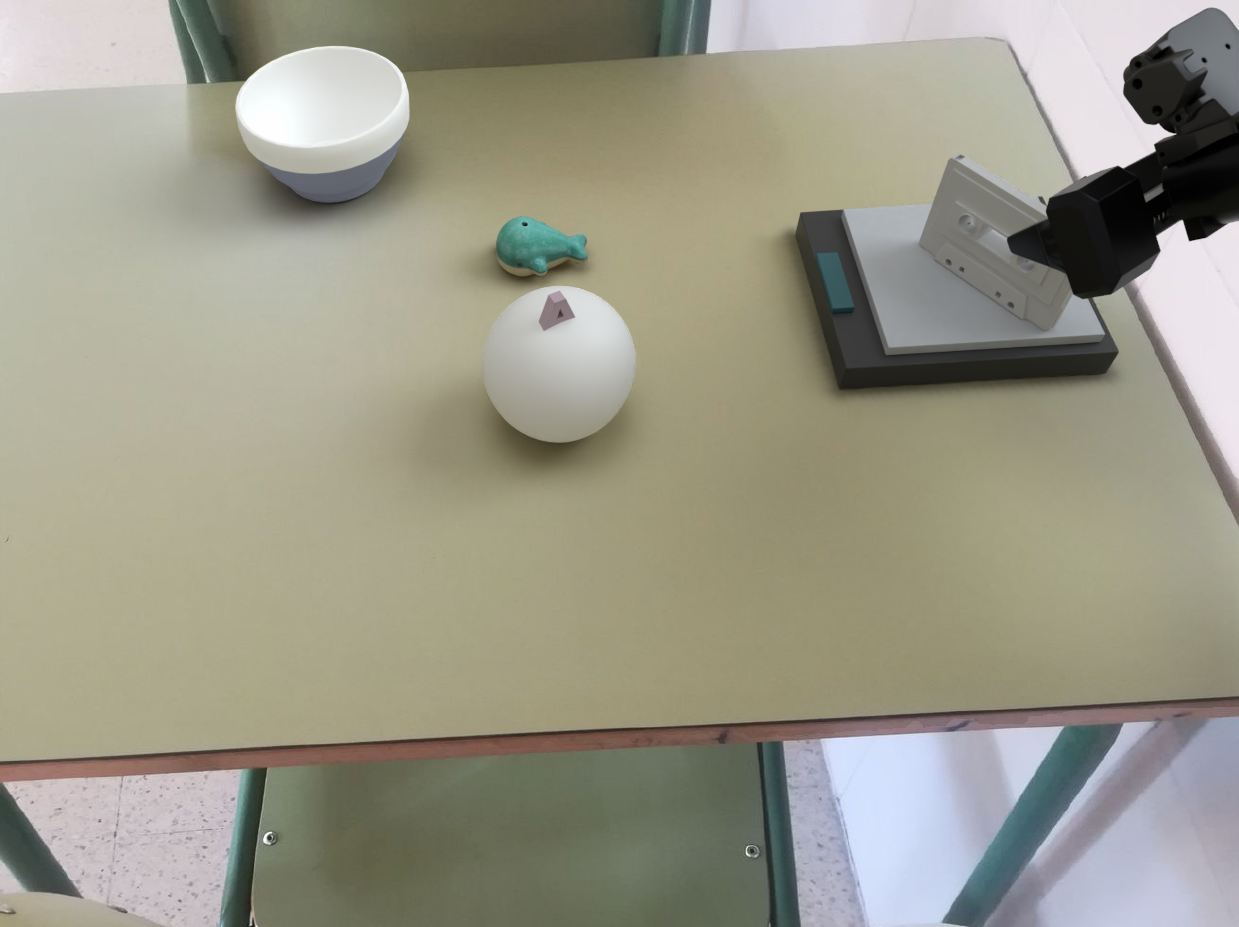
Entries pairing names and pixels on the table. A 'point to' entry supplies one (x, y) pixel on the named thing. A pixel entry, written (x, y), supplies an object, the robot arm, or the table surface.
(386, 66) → the bowl
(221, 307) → the table surface
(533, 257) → the whale figurine
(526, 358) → the ornament
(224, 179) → the table surface
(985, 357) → the scale
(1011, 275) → the cassette
